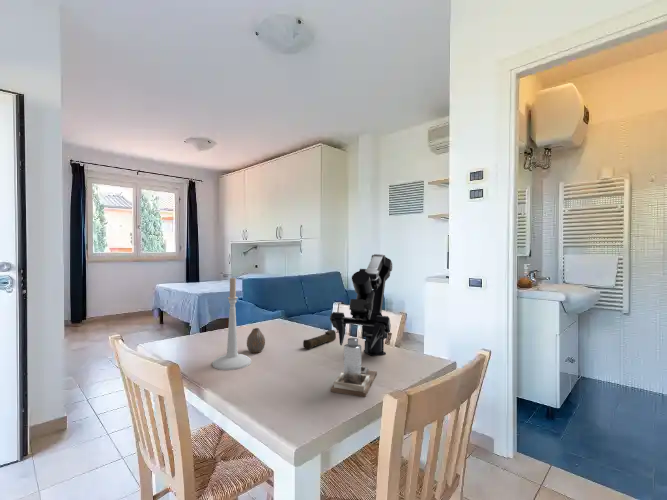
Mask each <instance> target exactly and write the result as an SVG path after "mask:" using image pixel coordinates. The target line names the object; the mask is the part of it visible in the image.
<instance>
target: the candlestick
mask: <svg viewBox="0 0 667 500" xmlns="http://www.w3.org/2000/svg"><path fill="white" fill-rule="evenodd" d="M236 281H237V278H236V277H230V278H229V296H228V297H227V299H228V303H229V305H230V306H229V311H228V313H229V314H228V328H227V329H228V333H227V344H226V345H227V347H226V354H222V355H221V356H219V357H217V358H216V359H214V360H212V361H213V362H212V367H213V368H215V369H217V370H220V371H221V370H222V371H234V370H240V369H243V368H246V367H248V366H250V365H251V364H252V359H251V358H250V357H249V356H247V355H246V354H243V353H239V352H238V337H237V335H238V333H237V315H236V310H237V309H236V303H237V302H238V301H237V299H238V298H239V297H238V296H236V295H237V294H236V293H237V290H236V289H237V285H236V284H237V282H236Z"/></svg>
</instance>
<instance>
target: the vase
mask: <svg viewBox="0 0 667 500" xmlns="http://www.w3.org/2000/svg"><path fill="white" fill-rule="evenodd" d="M265 345H266V338H265V335H264V334H263V333H262V331H261V329H260V328H258V327H254V328H252V330H251V332H250V333H249V334H248V336H247V339H246V347H247V350H248V351H249V352H250V353H252V354H258V353H261V352H262V351H264V348H265Z"/></svg>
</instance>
